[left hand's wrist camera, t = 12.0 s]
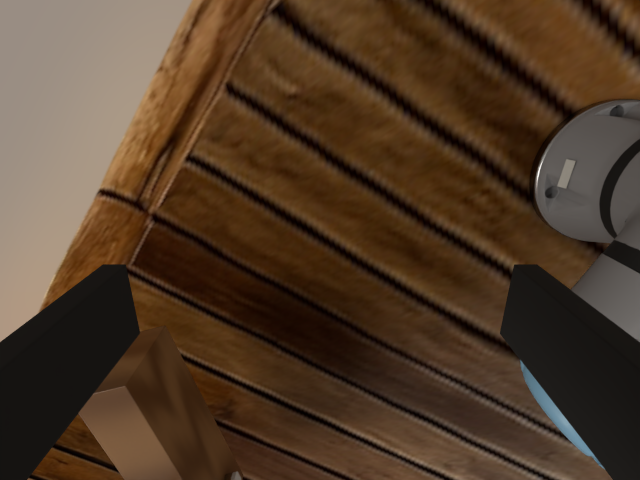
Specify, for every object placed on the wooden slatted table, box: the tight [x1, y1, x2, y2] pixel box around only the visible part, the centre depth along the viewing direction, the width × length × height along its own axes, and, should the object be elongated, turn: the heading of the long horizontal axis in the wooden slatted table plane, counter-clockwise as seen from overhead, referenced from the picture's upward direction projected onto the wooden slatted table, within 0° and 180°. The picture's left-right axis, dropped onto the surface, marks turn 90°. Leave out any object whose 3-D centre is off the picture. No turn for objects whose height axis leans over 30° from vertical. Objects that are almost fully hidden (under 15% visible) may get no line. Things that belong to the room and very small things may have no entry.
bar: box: [79, 326, 243, 480], centre depth 39 cm, size 24×5×9 cm, turn 16°
